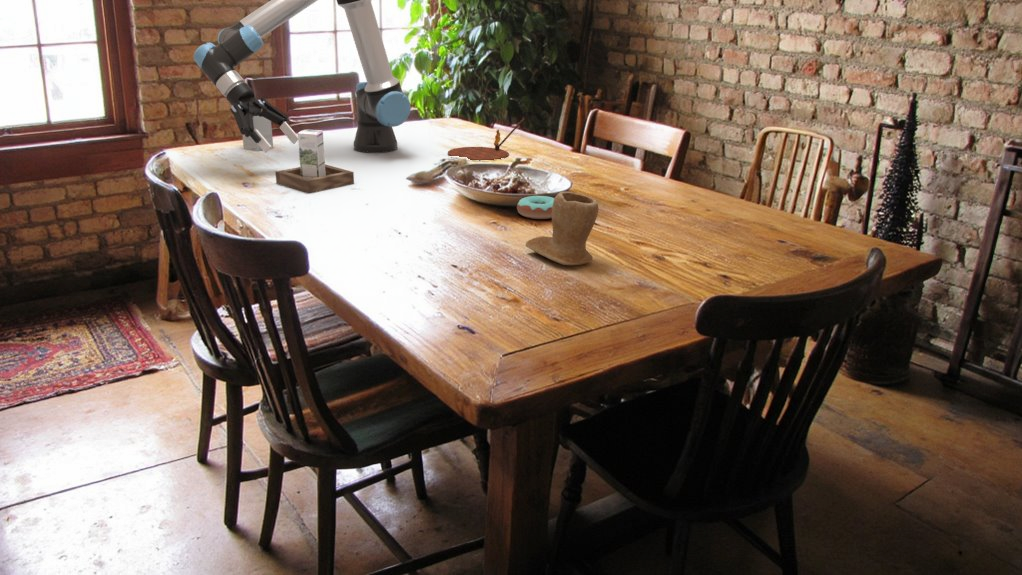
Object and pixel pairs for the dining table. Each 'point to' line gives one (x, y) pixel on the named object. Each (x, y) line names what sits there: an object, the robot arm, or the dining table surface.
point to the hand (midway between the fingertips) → (282, 145)
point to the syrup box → (311, 153)
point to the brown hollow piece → (568, 230)
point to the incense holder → (483, 150)
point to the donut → (536, 207)
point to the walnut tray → (315, 179)
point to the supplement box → (265, 130)
